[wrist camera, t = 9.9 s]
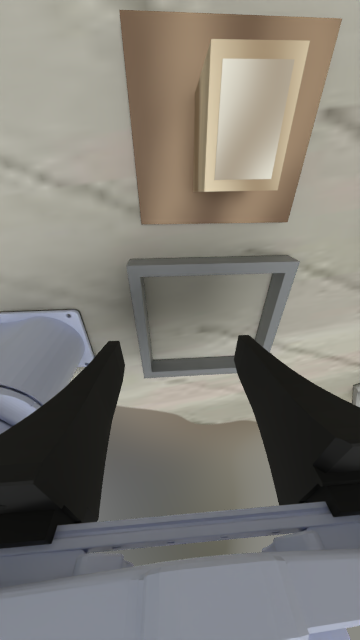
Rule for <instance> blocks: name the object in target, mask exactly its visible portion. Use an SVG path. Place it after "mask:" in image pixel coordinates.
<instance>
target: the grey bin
mask: <svg viewBox="0 0 360 640" xmlns="http://www.w3.org/2000/svg"><path fill="white" fill-rule="evenodd" d="M299 263H300V261H298V260H296V259H294V258H292V257H290V256H288V255H280V256H238V257H196V258H154V259H130V260H129V262H128V264H127V273H128V279H129V285H130V292H131V298H132V304H133V310H134V317H135V323H136V329H137V336H138V342H139V348H140V354H141V361H142V367H143V373H144V378H157V377H175V376H194V375H212V374H231V373H237V370H236V366H235V363H234V356H227V357H207V358H187V359H167V360H153V359H152V350H151V342H150V333H149V324H148V316H147V307H146V298H145V290H144V281H143V277H159V276H194V275H229V274H264V273H273V275H272V279H271V283H270V286H269V290H268V294H267V298H266V302H265V305H264V309H263V313H262V317H261V320H260V324H259V328H258V332H257V335H256V339H255V341H256V342H257V343H259V344H260V345H261V346H262V347H263V348H265V349H266V350H267V351H268V352H269V353H270V350H271V347H272V344H273V341H274V338H275V335H276V332H277V329H278V326H279V323H280V320H281V317H282V314H283V311H284V308H285V305H286V302H287V299H288V296H289V293H290V290H291V287H292V284H293V281H294V278H295V275H296V272H297V269H298V266H299Z"/></svg>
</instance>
